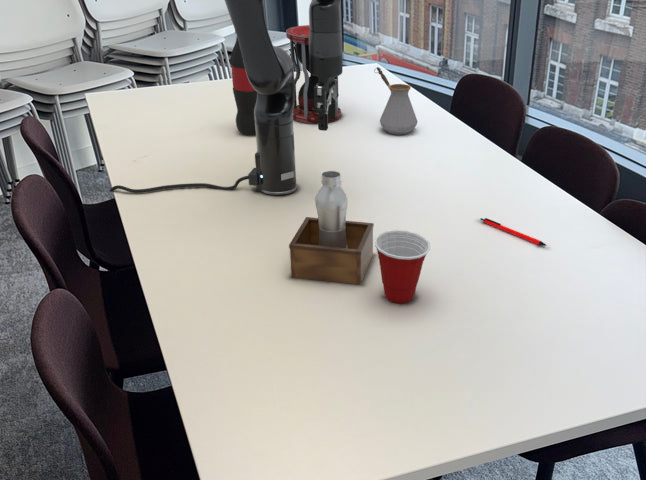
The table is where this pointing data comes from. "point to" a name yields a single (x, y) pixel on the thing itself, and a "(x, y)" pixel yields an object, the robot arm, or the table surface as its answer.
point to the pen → (512, 231)
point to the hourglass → (306, 92)
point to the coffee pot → (398, 109)
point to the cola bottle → (243, 93)
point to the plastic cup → (400, 263)
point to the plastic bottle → (331, 211)
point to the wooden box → (331, 253)
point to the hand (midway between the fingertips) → (327, 124)
